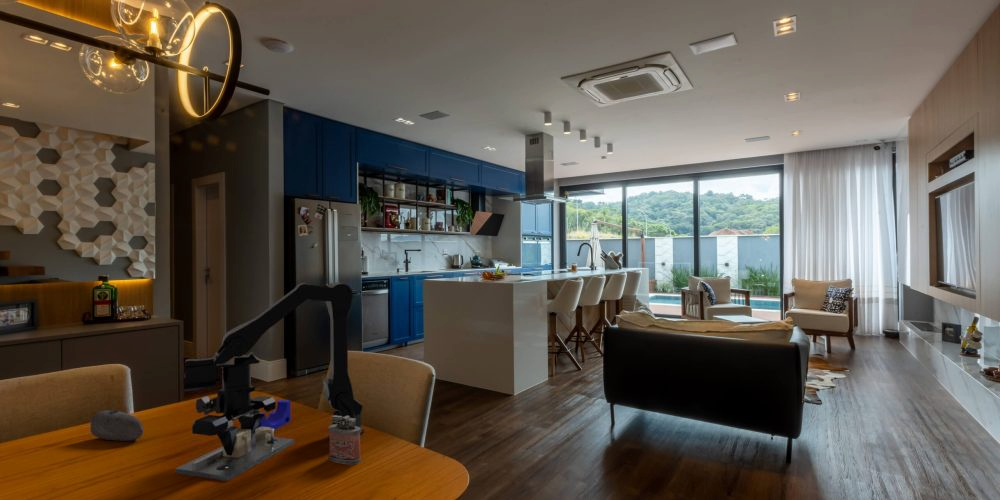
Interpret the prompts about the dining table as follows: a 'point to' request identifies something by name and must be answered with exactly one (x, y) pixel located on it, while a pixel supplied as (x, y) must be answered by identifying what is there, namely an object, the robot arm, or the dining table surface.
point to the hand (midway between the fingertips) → (237, 451)
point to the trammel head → (241, 443)
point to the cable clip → (277, 416)
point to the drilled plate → (230, 467)
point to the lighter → (344, 440)
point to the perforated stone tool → (116, 426)
